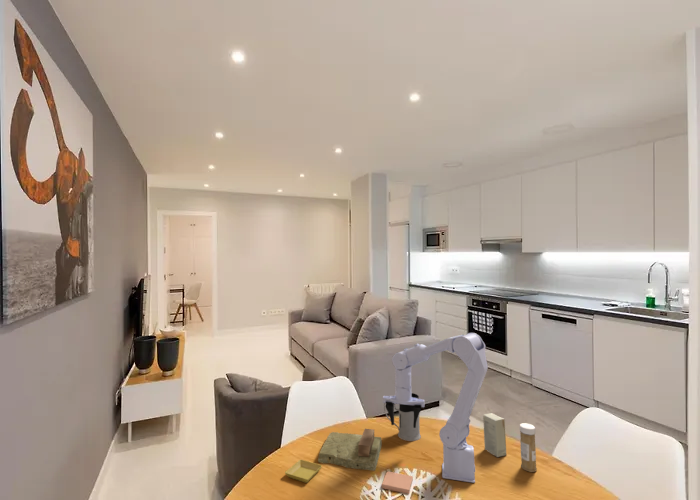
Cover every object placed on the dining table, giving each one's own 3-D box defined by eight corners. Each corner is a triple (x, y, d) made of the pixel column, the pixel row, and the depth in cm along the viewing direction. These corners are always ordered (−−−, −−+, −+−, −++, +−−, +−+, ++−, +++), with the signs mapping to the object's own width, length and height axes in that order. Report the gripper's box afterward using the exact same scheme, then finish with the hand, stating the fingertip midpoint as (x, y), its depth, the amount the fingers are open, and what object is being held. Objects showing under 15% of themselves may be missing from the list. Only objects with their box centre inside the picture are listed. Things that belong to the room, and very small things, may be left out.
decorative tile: (329, 439, 131) (329, 429, 131) (382, 444, 127) (382, 434, 127) (315, 466, 112) (315, 455, 113) (375, 473, 108) (375, 461, 109)
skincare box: (507, 455, 118) (505, 419, 119) (497, 458, 117) (496, 421, 117) (492, 446, 124) (492, 412, 125) (483, 449, 123) (482, 413, 123)
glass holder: (422, 441, 128) (422, 400, 129) (384, 440, 129) (384, 399, 130) (418, 430, 137) (418, 392, 138) (383, 429, 137) (383, 391, 138)
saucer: (284, 479, 105) (284, 472, 105) (300, 465, 113) (300, 458, 113) (307, 487, 101) (307, 479, 101) (322, 472, 109) (322, 465, 109)
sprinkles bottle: (539, 472, 108) (538, 428, 109) (525, 472, 108) (524, 428, 109) (531, 464, 113) (530, 422, 114) (518, 464, 113) (516, 422, 114)
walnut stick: (374, 439, 123) (374, 429, 124) (368, 457, 112) (368, 446, 112) (364, 438, 124) (364, 428, 124) (358, 455, 112) (358, 444, 113)
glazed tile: (412, 476, 104) (409, 489, 98) (412, 481, 104) (409, 495, 98) (387, 471, 107) (381, 484, 100) (387, 476, 107) (381, 489, 100)
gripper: (424, 384, 123) (425, 422, 122) (384, 380, 127) (385, 418, 126) (423, 390, 116) (424, 431, 116) (381, 386, 120) (381, 426, 119)
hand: (403, 425), depth 120 cm, fingers open, 7 cm apart
